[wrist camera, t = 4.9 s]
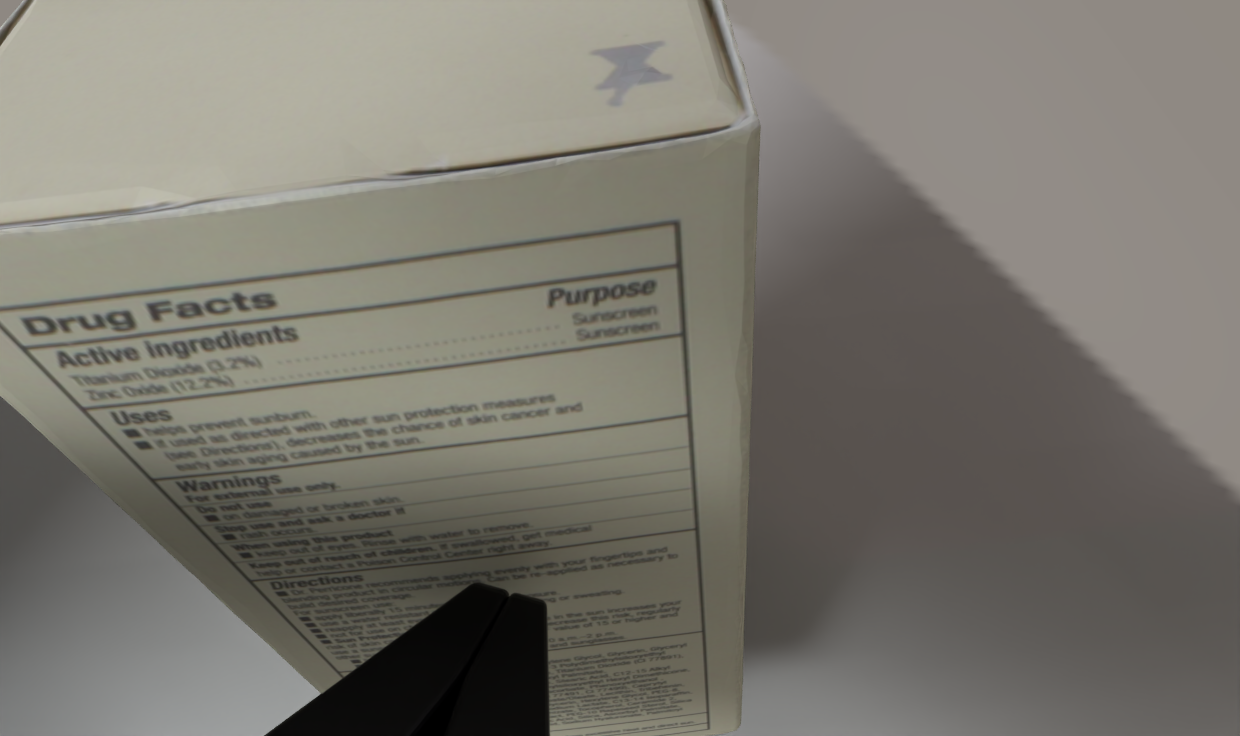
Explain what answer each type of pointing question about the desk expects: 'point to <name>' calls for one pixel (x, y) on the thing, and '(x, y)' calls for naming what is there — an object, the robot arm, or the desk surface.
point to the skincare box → (404, 317)
